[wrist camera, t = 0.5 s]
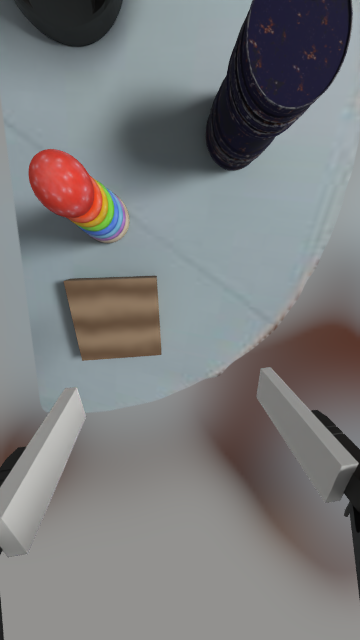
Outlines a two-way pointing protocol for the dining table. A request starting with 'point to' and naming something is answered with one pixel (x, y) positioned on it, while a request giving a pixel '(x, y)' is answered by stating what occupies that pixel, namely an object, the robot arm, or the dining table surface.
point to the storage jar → (276, 74)
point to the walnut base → (115, 316)
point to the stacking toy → (77, 195)
